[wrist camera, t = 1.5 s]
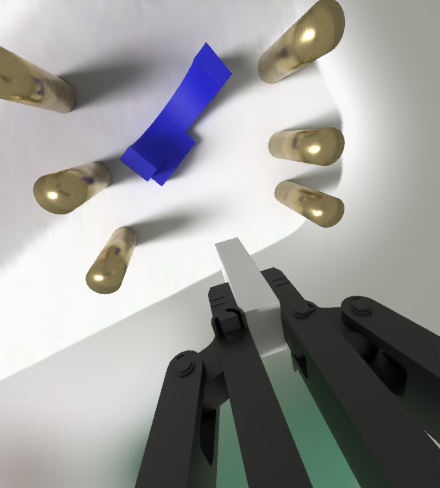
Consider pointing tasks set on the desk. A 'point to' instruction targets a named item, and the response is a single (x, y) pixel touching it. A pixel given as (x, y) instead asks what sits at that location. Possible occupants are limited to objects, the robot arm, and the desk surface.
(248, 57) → the desk surface
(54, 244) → the desk surface
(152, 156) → the blue curved block
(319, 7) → the spacers
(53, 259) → the desk surface
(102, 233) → the desk surface
